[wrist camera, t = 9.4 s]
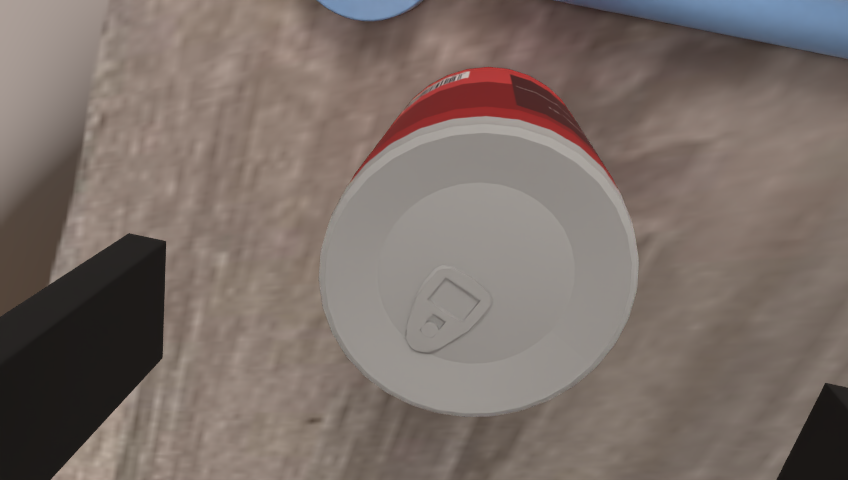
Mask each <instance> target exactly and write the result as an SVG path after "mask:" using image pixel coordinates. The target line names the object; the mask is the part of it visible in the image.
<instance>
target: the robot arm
mask: <svg viewBox="0 0 848 480" xmlns="http://www.w3.org/2000/svg"><path fill="white" fill-rule="evenodd" d="M165 260H166V241H162V240H158V239H153V238H148V237H144V236H139V235H134V234H130V233H129V234H127V235H126V236H124V237H123V238H121V239H119V240H118V241H116V242H115V243H113V244H112V245H110V246H109V247H107V248H106V249H104V250H103V251H101V252H99V253H98V254H96V255H95V256H93V257H92V258H90V259H89V260H87V261H86V262H84V263H82V264H81V265H79V266H78V267H76V268H75V269H73V270H72V271H70V272H69V273H67V274H66V275H64V276H62V277H61V278H59V279H58V280H56V281H55V282H53V283H52V284H50V285H49V286H47V287H45V288H44V289H42V290H41V291H39V292H38V293H37V294H35V295H33V296H32V297H30V298H29V299H27V300H26V301H24V302H23V303H21V304H19V305H18V306H16V307H15V308H13V309H12V310H10V311H8V312H7V313H5V314H4V315H3V316H1V317H0V480H51V479H52V477H53V476H54V475H55V474H56V473H57V472H58V471H59V470H60V469H61V468H62V467H63V466H64V464H65V463H66V462H67V461H68V460H69V459H70V458H71V457H72V456H73V455H74V454H75V452H76V451H77V450H78V449H79V448H80V447H81V446H82V445H83V444H84V443H85V442H86V441H87V439H88V438H89V437H90V436H91V435H92V434H93V433H94V432H95V431H96V430H97V429H98V427H99V426H100V425H101V424H102V423H103V422H104V421H105V420H106V419H107V418H108V417H109V416H110V414H111V413H112V412H113V411H114V410H115V409H116V408H117V407H118V406H119V405H120V404H121V402H122V401H123V400H124V399H125V398H126V397H127V396H128V395H129V394H130V393H131V392H132V391H133V389H134V388H135V387H136V386H137V385H138V384H139V383H140V382H141V381H142V380H143V379H144V377H145V376H146V375H147V374H148V373H149V372H150V371H151V370H152V369H153V368H154V367H155V366H156V364H157V363H158V362H159V361H160V360H161V359H162V356H163V324H164V292H165ZM777 480H848V388H846V387H842V386H837V385H833V384H828V383H825V385H824V387H823V389H822V391H821V393H820V395H819V397H818V399H817V401H816V403H815V405H814V407H813V409H812V411H811V413H810V415H809V417H808V419H807V421H806V423H805V424H804V426H803V428H802V430H801V432H800V434H799V436H798V438H797V440H796V442H795V444H794V446H793V448H792V450H791V452H790V454H789V456H788V458H787V460H786V462H785V464H784V466H783V468H782V470H781V472H780V474H779V476H778V478H777Z"/></svg>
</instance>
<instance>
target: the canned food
mask: <svg viewBox="0 0 848 480" xmlns="http://www.w3.org/2000/svg"><path fill="white" fill-rule="evenodd" d="M638 267H639V258H638V252H637V245H636V239H635V232H634V229H633V224H632V220H631V218H630V215H629V213H628V210H627V208H626V205H625V203H624V200H623V198H622V195H621V193H620V191H619V190H618V188H617V186H616V185H615V182H614V180H613V178H612V177H611V175H610V173H609V172H608V170H607V169H606V167H605V166H604V164H603V163H602V161H601V159H600V158H599V156H598V155H597V153H596V152H595V150H594V149H593V147H592V145H591V144H590V142H589V141H588V139H587V138H586V136H585V134H584V133H583V131H582V130H581V128H580V127H579V125H578V124H577V122H576V120H575V119H574V117H573V116H572V114H571V113H570V111H569V110H568V109H567V107H566V106H565V104H564V103H563V101H562V100H561V99H560V98H559V97H558V96H557V95H556V94H555V93H554V92H553V91H551V90H550V89H549V88H548V87H547V86H546V85H544V84H542V83H541V82H539V81H537V80H536V79H534V78H532V77H531V76H529V75H526V74H523V73H519V72H516V71H513V70H510V69H503V68H493V67H484V68H473V69H466V70H463V71H460V72H457V73H453V74H450V75H447V76H445V77H444V78H442V79H440V80H438V81H436V82H434V83H432V84H431V85H429V86H428V87H426V88H425V89H424V90H423V91H422V92H420V93H419V94H418V95H417V96H415V97H414V98H413V99H412V100H411V102H410V103H409V104H408V105H407V107H406V108H405V109H404V110H403V111H402V113H401V114H400V115H399V116H398V118H397V119H396V120H395V122H394V123H393V124H392V126H391V127H390V128H389V130H388V131H387V132H386V134H385V135H384V136H383V138H382V139H381V140H380V141H379V143H378V144H377V145H376V147H375V148H374V149H373V151H372V152H371V153H370V155H369V156H368V157H367V159H366V160H365V161H364V163H363V164H362V165H361V167H360V168H359V169H358V171H357V172H356V173H355V175H354V176H353V178H352V180H351V181H350V183H349V184H348V186H347V187H346V189H345V191H344V192H343V194H342V196H341V198H340V200H339V202H338V204H337V206H336V207H335V209H334V211H333V213H332V216H331V219H330V222H329V224H328V228H327V231H326V235H325V238H324V242H323V245H322V248H321V256H320V269H319V284H320V291H321V299H322V306H323V309H324V312H325V315H326V317H327V320H328V323H329V326H330V329H331V332H332V333H333V335H334V337H335V338H336V340H337V342H338V343H339V345H340V347H341V348H342V350H343V352H344V353H345V355H346V356H347V357H348V358H349V360H350V361H351V362H352V363H353V364H354V365H355V366H356V367H357V368H358V370H359V371H360V372H361V373H362V374H363V375H364V376H365V377H367V378H368V379H369V380H370V381H372V382H373V383H374V384H376V385H377V386H378V387H380V388H381V389H382V390H383V391H385V392H386V393H388V394H390V395H392V396H394V397H396V398H398V399H400V400H402V401H404V402H406V403H408V404H410V405H413V406H416V407H419V408H422V409H425V410H429V411H432V412H435V413H440V414H447V415H454V416H462V417H481V416H497V415H502V414H507V413H512V412H518V411H522V410H525V409H528V408H530V407H533V406H536V405H538V404H541V403H544V402H546V401H549V400H551V399H552V398H554V397H556V396H558V395H559V394H561V393H563V392H565V391H566V390H568V389H570V388H571V387H573V386H575V385H576V384H577V383H578V382H579V381H581V380H582V379H583V378H584V377H585V376H586V375H588V374H589V373H590V372H591V371H592V370H594V369H595V368H596V367H597V366H598V364H599V363H600V362H601V361H602V360H603V358H604V357H605V356H606V355H607V353H608V352H609V351H610V350H611V349H612V347H613V346H614V345H615V343H616V341H617V339H618V338H619V336H620V334H621V332H622V330H623V328H624V326H625V324H626V323H627V321H628V319H629V316H630V312H631V309H632V305H633V302H634V298H635V295H636V292H637V281H638Z"/></svg>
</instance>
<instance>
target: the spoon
mask: <svg viewBox="0 0 848 480" xmlns="http://www.w3.org/2000/svg"><path fill="white" fill-rule="evenodd" d="M317 1H318V2H319V3H321V4H322V5H323V6H324V7H326V8H327V9H329V10H331V11H332V12H334V13H336V14H338V15H341V16H343V17H346V18H349V19H353V20H359V21H380V20H386V19H389V18H392V17H396V16H399V15H401V14H403V13H406V12H408V11H410V10H411V9H413V8H414V7H416V6H417V5H419V4H420V3H421V2H422V1H423V0H317ZM554 1H559V2H564V3H569V4H574V5H579V6H584V7H589V8H594V9H599V10H604V11H609V12H614V13H619V14H624V15H629V16H634V17H639V18H644V19H649V20H654V21H659V22H664V23H669V24H674V25H679V26H684V27H689V28H694V29H699V30H705V31H710V32H715V33H720V34H725V35H730V36H735V37H740V38H745V39H750V40H755V41H760V42H765V43H770V44H775V45H780V46H785V47H790V48H795V49H800V50H805V51H810V52H815V53H820V54H825V55H830V56H835V57H840V58H845V59H848V0H554Z"/></svg>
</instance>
